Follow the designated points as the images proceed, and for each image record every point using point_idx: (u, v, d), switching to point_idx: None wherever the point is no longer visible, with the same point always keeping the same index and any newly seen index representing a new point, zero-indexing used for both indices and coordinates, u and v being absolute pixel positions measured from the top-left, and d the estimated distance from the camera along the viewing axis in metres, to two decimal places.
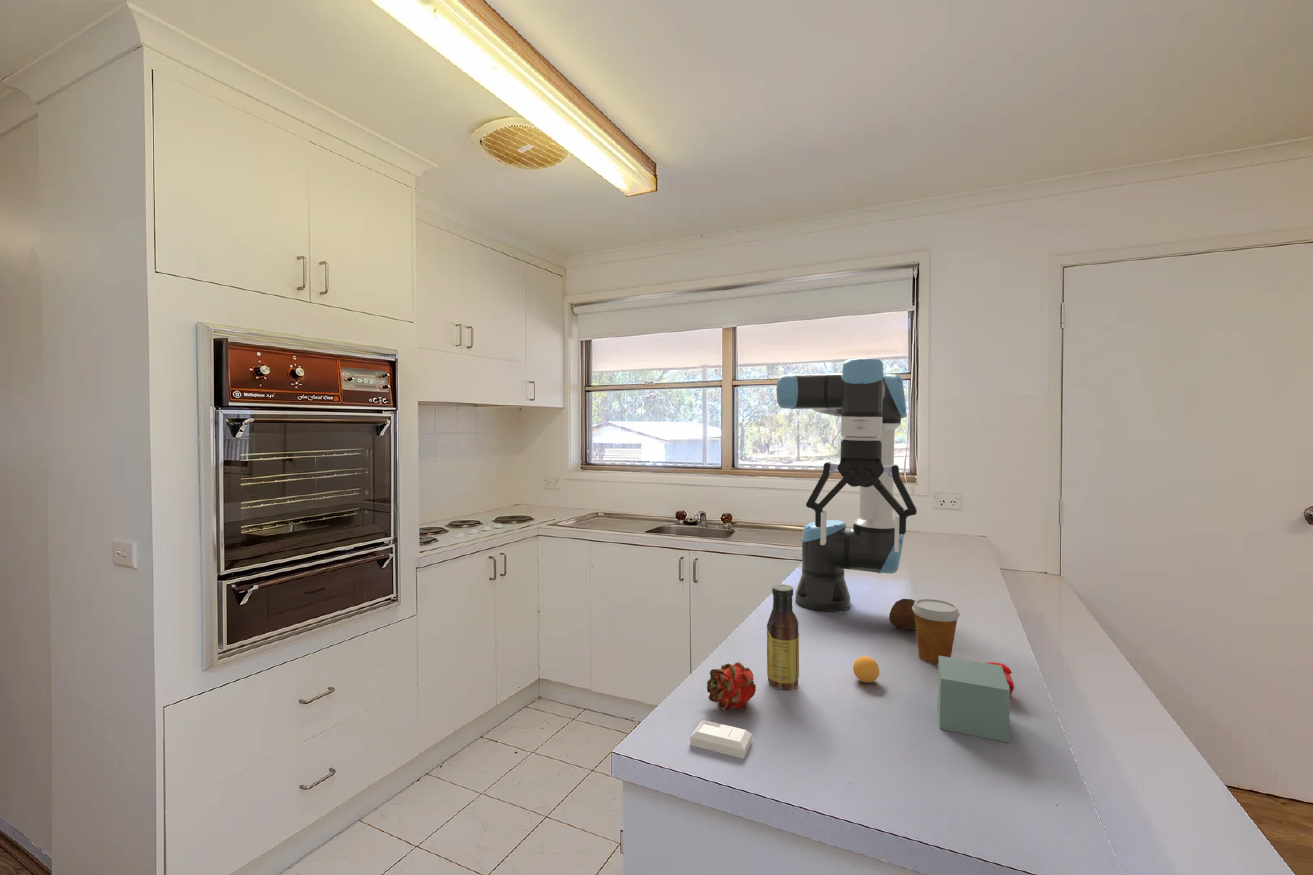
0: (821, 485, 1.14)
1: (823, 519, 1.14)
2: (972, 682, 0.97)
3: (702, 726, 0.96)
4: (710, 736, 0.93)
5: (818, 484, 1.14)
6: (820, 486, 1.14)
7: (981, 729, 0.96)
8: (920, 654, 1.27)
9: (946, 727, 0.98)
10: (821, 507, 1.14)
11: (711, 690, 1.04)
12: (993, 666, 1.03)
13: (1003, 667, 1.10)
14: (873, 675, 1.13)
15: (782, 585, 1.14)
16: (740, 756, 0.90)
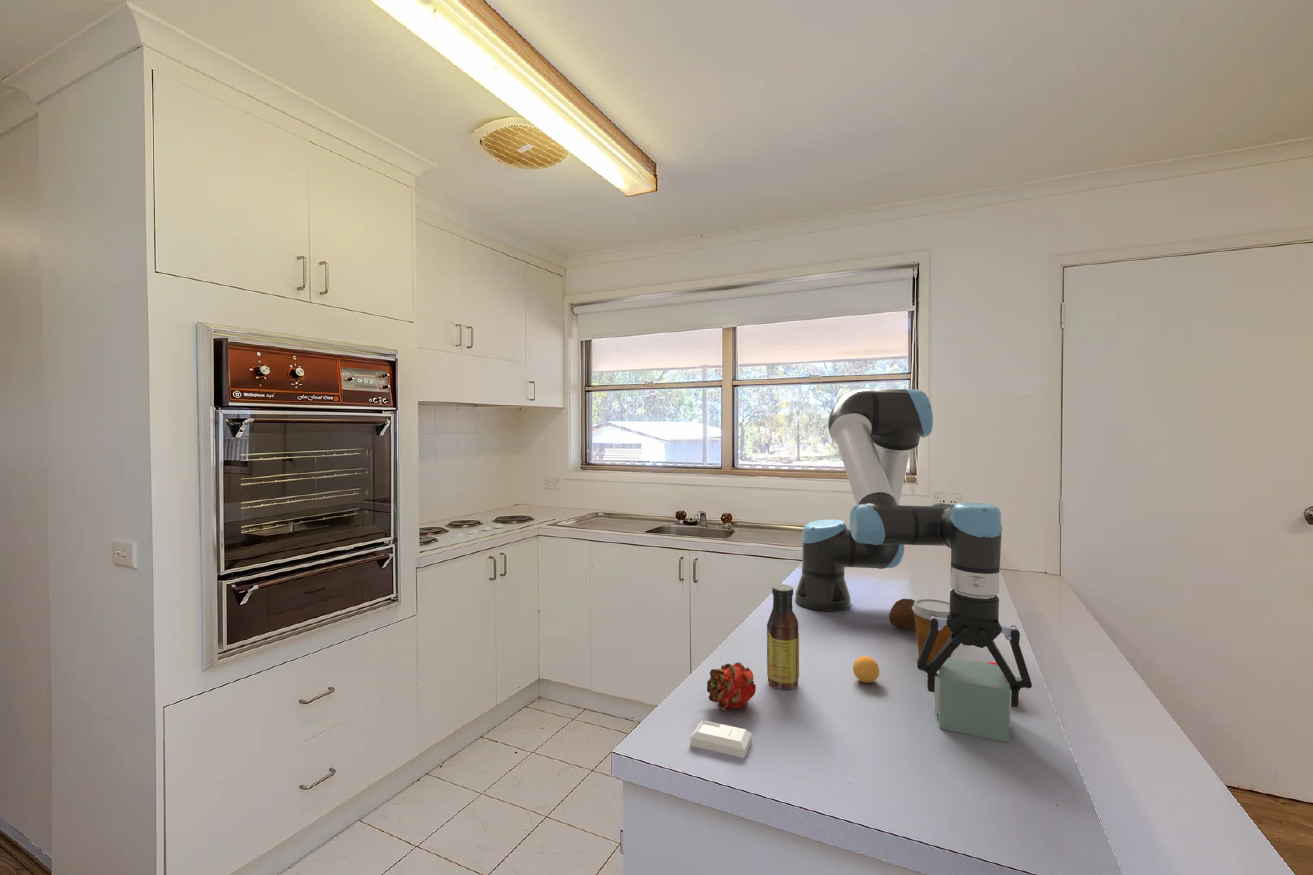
0: (931, 644, 1.02)
1: (938, 685, 1.02)
2: (972, 682, 0.97)
3: (702, 726, 0.96)
4: (710, 736, 0.93)
5: (927, 643, 1.02)
6: (930, 645, 1.02)
7: (981, 729, 0.96)
8: None
9: (945, 727, 0.98)
10: (935, 670, 1.02)
11: (711, 690, 1.04)
12: (993, 666, 1.03)
13: None
14: (873, 675, 1.13)
15: (782, 585, 1.14)
16: (741, 756, 0.90)
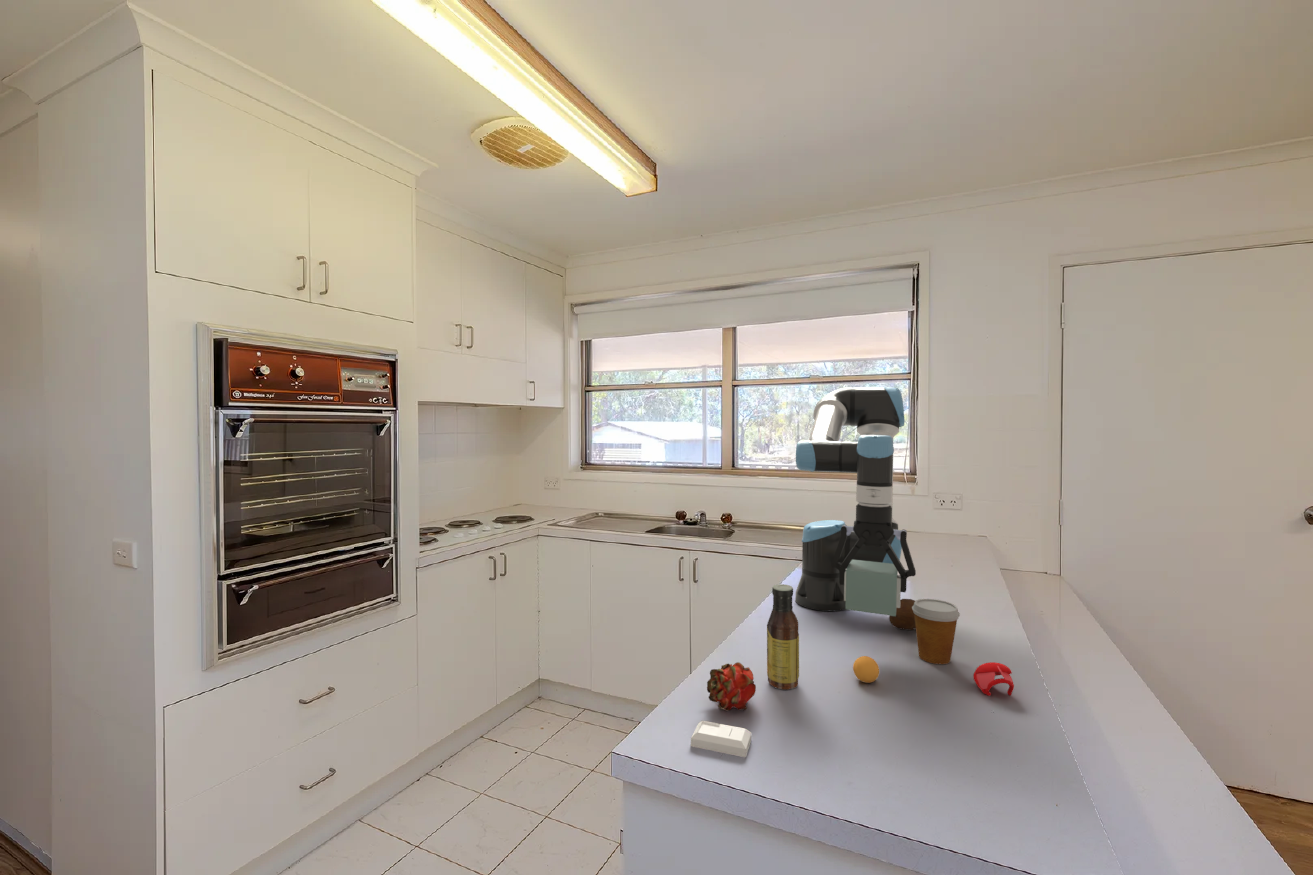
0: (841, 546, 1.30)
1: None
2: (869, 571, 1.24)
3: (701, 727, 0.96)
4: (711, 736, 0.92)
5: (839, 546, 1.30)
6: (841, 547, 1.30)
7: (876, 607, 1.23)
8: (920, 654, 1.27)
9: (850, 608, 1.25)
10: (844, 567, 1.29)
11: (711, 690, 1.04)
12: (891, 564, 1.30)
13: (1003, 667, 1.10)
14: (873, 675, 1.13)
15: (782, 585, 1.14)
16: (742, 755, 0.90)
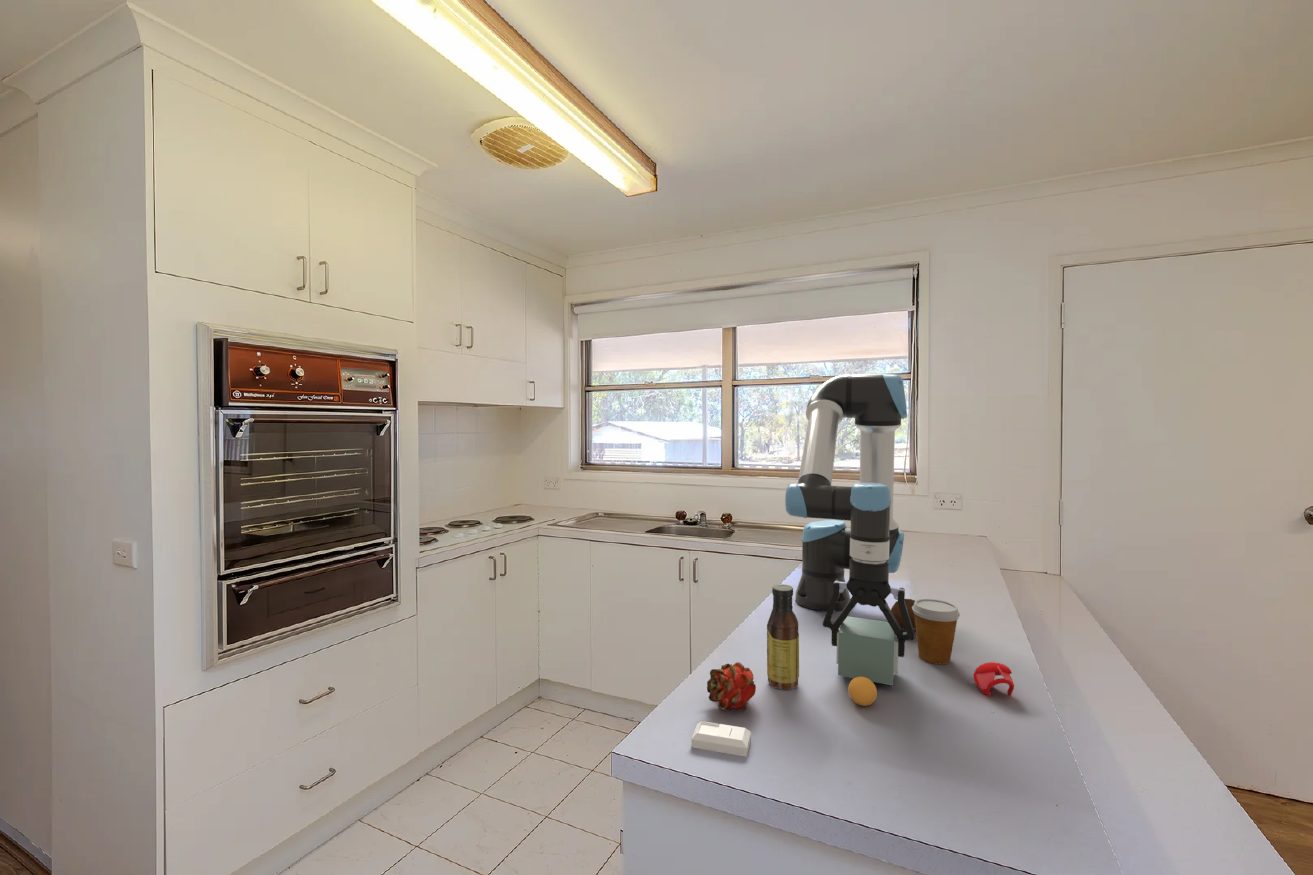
0: (834, 604, 1.19)
1: None
2: (864, 635, 1.13)
3: (701, 727, 0.95)
4: (712, 737, 0.92)
5: (831, 604, 1.19)
6: (833, 606, 1.19)
7: (871, 674, 1.13)
8: (920, 654, 1.27)
9: (843, 674, 1.15)
10: (837, 627, 1.19)
11: (711, 690, 1.04)
12: (888, 623, 1.19)
13: (1003, 667, 1.10)
14: None
15: (782, 585, 1.14)
16: (743, 754, 0.91)
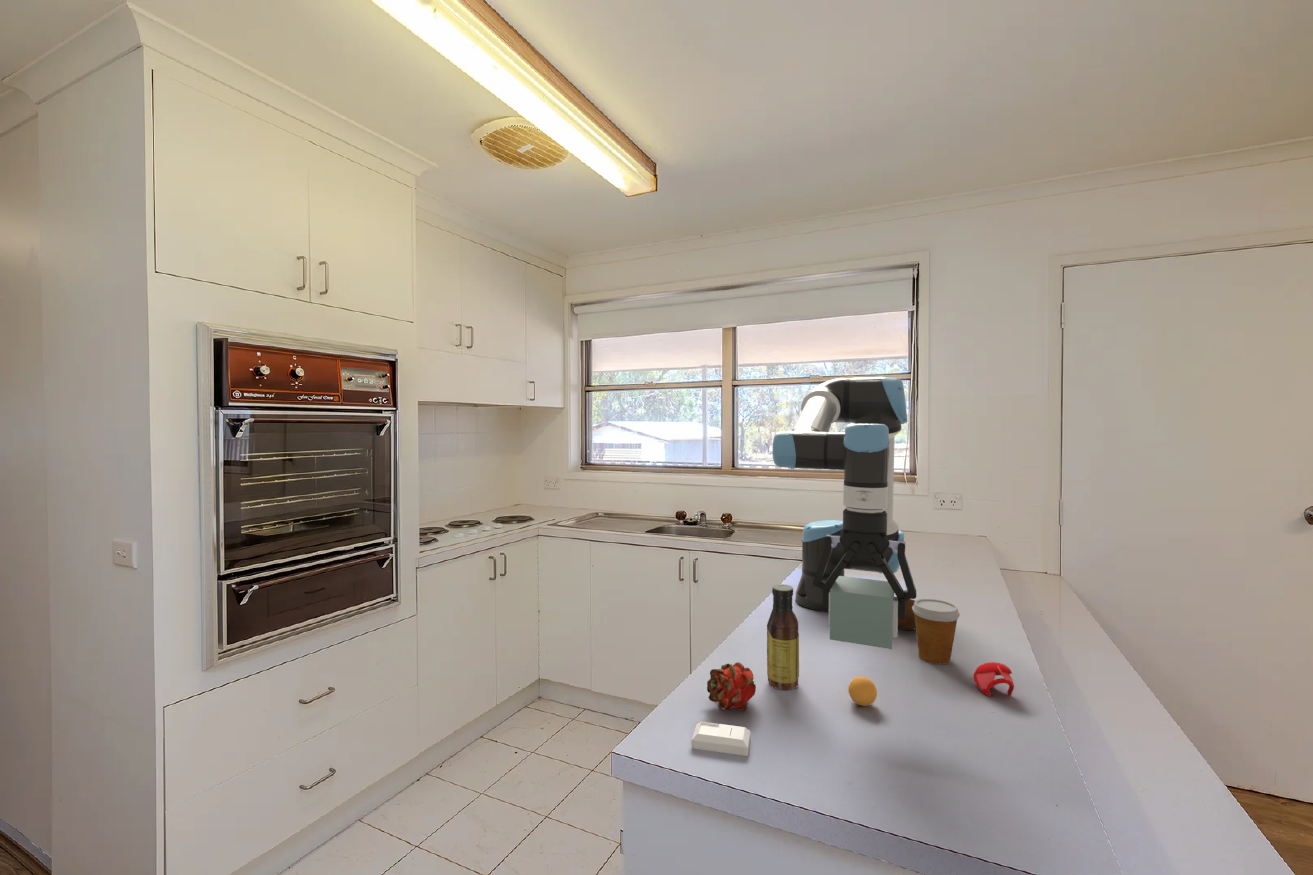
0: (825, 561, 1.05)
1: None
2: (859, 593, 1.00)
3: (701, 727, 0.95)
4: (712, 737, 0.92)
5: (822, 560, 1.06)
6: (824, 562, 1.05)
7: (867, 638, 0.99)
8: (920, 654, 1.27)
9: (835, 638, 1.01)
10: (829, 586, 1.05)
11: (711, 690, 1.04)
12: (886, 582, 1.06)
13: (1003, 667, 1.10)
14: None
15: (782, 585, 1.14)
16: (744, 754, 0.91)
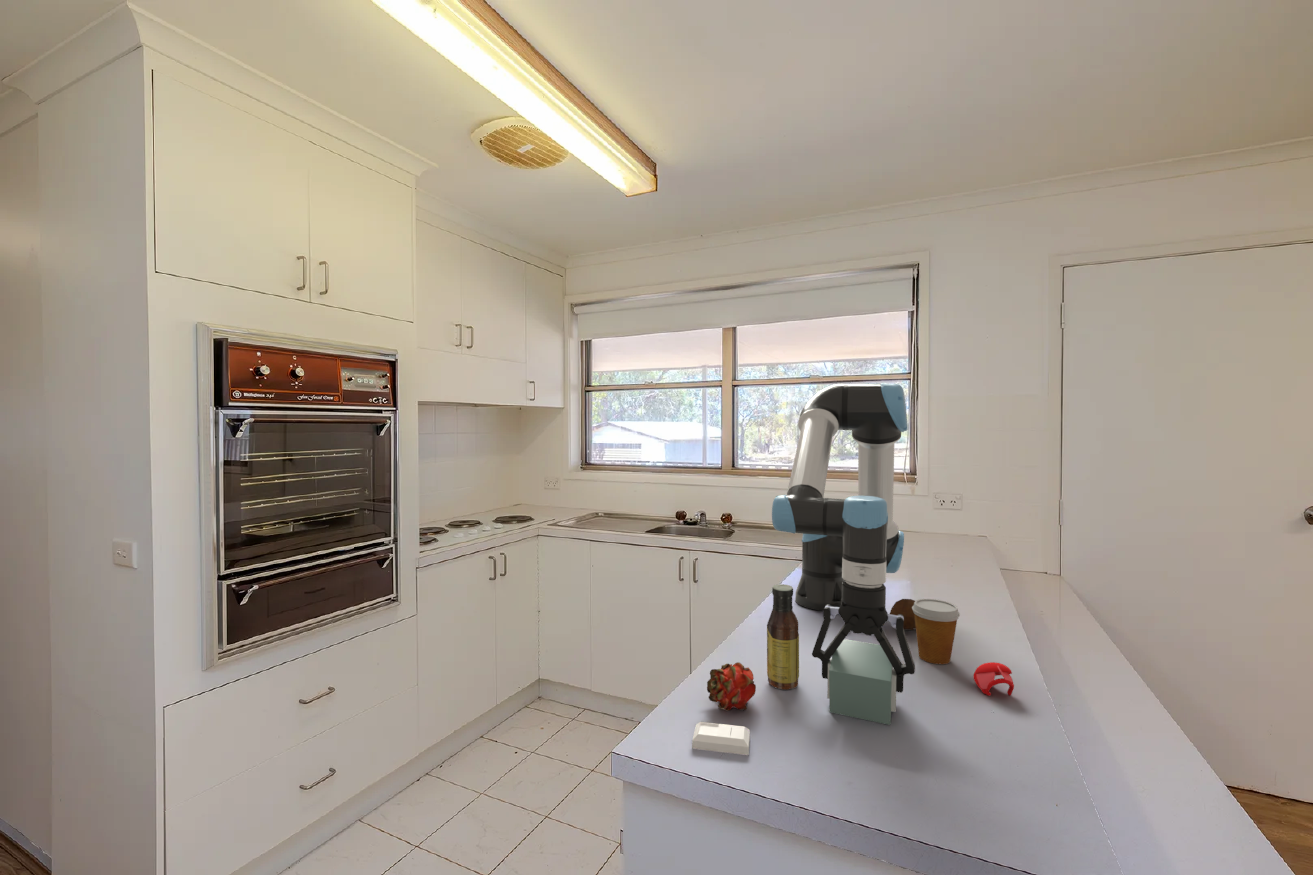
0: (824, 632, 1.06)
1: None
2: (858, 673, 1.00)
3: (701, 728, 0.95)
4: (713, 737, 0.92)
5: (821, 631, 1.06)
6: (823, 633, 1.06)
7: (866, 713, 1.01)
8: (920, 654, 1.27)
9: (835, 711, 1.03)
10: (828, 657, 1.06)
11: (711, 690, 1.04)
12: None
13: (1003, 667, 1.10)
14: None
15: (782, 585, 1.14)
16: (745, 753, 0.91)
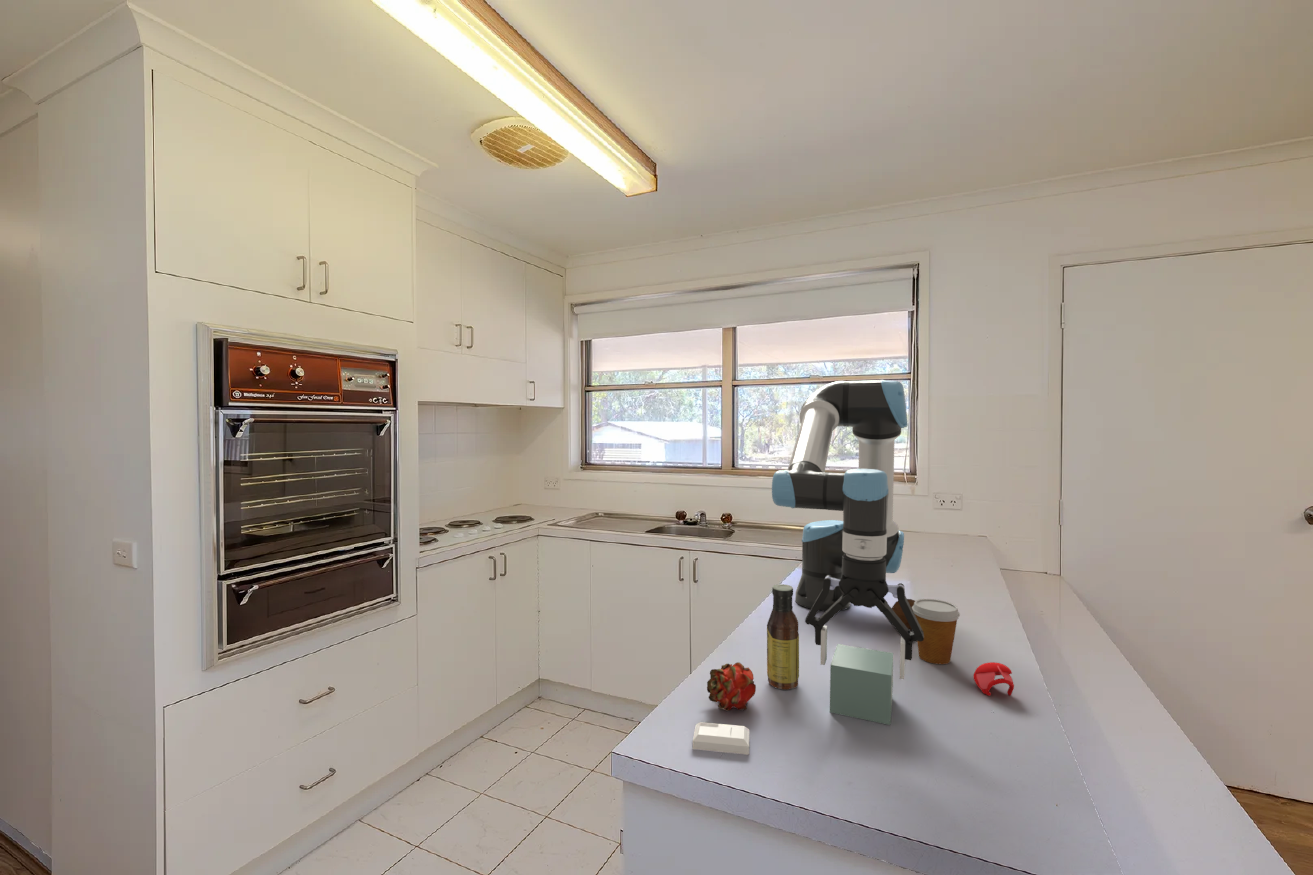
0: (821, 602, 1.06)
1: (823, 638, 1.06)
2: (858, 668, 1.02)
3: (700, 728, 0.95)
4: (713, 737, 0.92)
5: (818, 600, 1.06)
6: (820, 603, 1.06)
7: (866, 712, 1.01)
8: (920, 654, 1.27)
9: (835, 711, 1.03)
10: (821, 625, 1.06)
11: (711, 690, 1.04)
12: (885, 654, 1.08)
13: (1003, 667, 1.10)
14: None
15: (782, 585, 1.14)
16: (745, 753, 0.91)
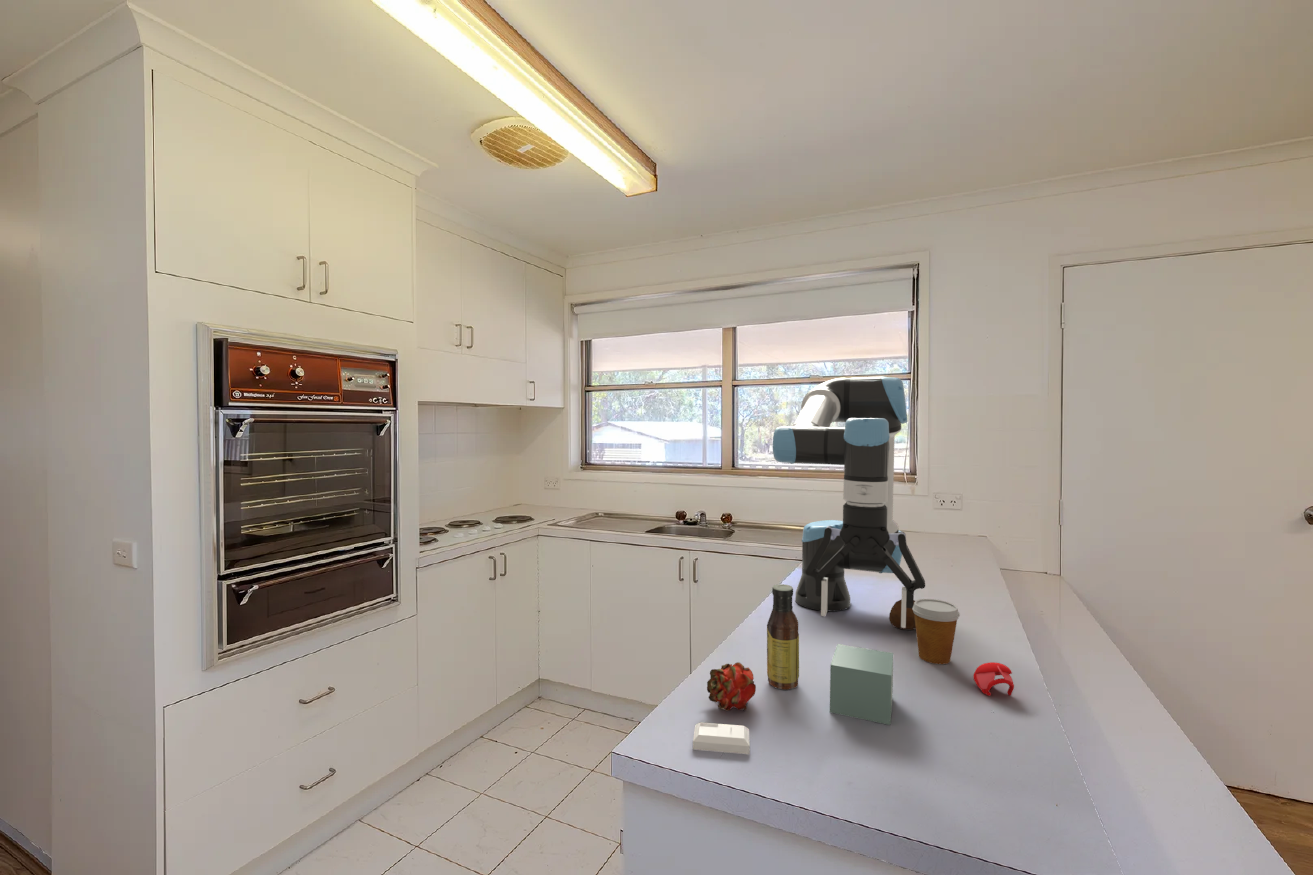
0: (822, 552, 1.06)
1: (824, 588, 1.05)
2: (858, 668, 1.02)
3: (700, 728, 0.95)
4: (713, 737, 0.92)
5: (819, 550, 1.06)
6: (821, 553, 1.06)
7: (866, 712, 1.01)
8: (920, 654, 1.27)
9: (835, 711, 1.03)
10: (822, 575, 1.06)
11: (711, 690, 1.04)
12: (885, 654, 1.08)
13: (1003, 667, 1.10)
14: None
15: (782, 585, 1.14)
16: (745, 752, 0.91)
